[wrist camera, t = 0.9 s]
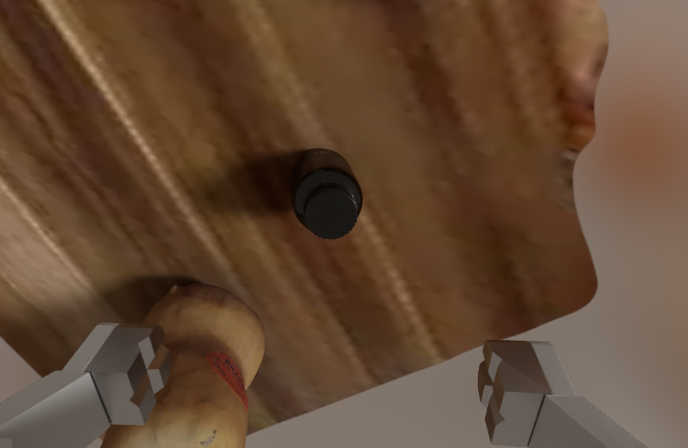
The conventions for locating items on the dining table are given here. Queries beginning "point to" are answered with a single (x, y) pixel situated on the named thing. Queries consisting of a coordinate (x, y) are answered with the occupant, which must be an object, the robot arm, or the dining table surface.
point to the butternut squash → (200, 372)
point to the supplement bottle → (325, 193)
